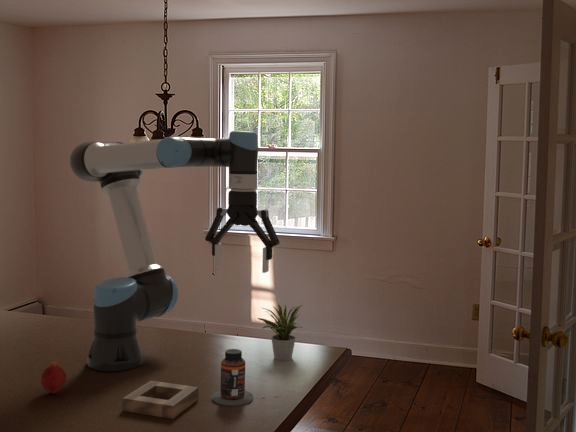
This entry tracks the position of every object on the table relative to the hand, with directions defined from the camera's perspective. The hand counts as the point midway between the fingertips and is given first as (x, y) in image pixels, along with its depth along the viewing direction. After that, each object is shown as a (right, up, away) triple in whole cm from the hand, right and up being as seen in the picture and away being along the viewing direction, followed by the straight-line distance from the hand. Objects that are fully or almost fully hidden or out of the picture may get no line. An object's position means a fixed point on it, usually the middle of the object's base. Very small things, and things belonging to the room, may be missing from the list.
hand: (241, 270), depth 181 cm
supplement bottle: (-1, -30, -15) cm, 33 cm away
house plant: (+11, -27, +20) cm, 36 cm away
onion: (-45, -29, -14) cm, 56 cm away
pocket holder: (-18, -30, -20) cm, 40 cm away
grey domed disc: (-1, -30, -15) cm, 34 cm away
